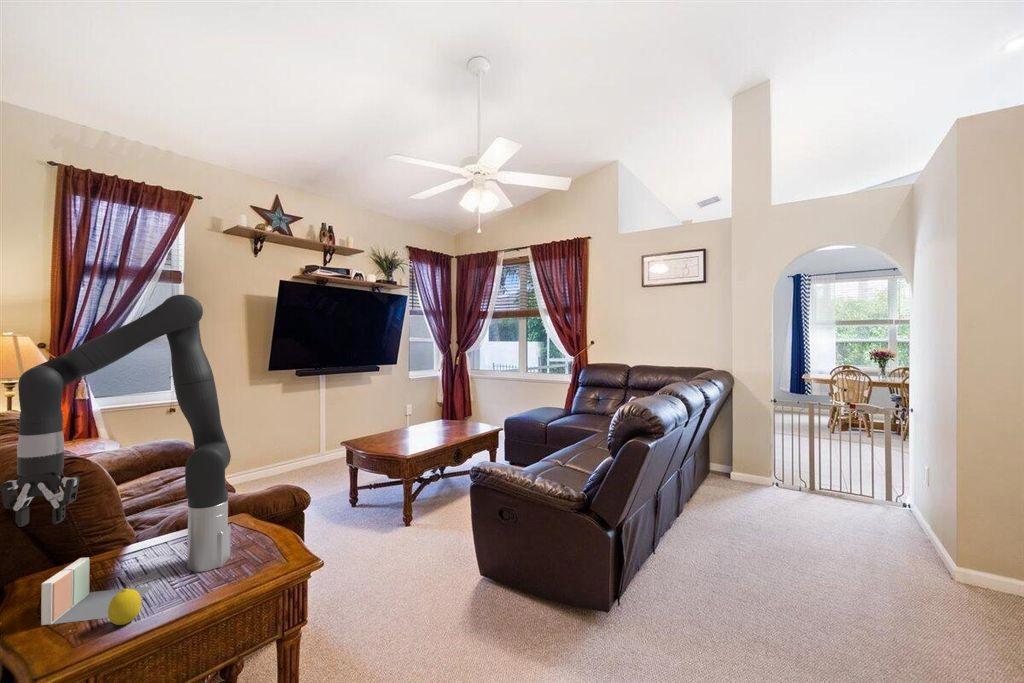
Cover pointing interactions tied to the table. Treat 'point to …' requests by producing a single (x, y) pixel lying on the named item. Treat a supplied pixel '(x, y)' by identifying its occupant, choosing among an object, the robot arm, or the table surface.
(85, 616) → the slate mat
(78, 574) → the white flat block
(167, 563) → the table surface
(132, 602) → the lemon
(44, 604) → the pink flat piece
